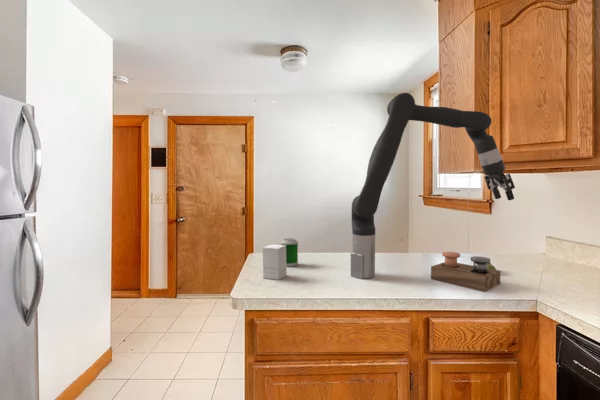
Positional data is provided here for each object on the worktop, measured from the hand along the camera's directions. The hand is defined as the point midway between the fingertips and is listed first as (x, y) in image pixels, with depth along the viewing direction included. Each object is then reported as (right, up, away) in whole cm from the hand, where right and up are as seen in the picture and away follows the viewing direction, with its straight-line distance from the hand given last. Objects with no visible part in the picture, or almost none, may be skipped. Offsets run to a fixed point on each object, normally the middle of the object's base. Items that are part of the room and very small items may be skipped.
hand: (504, 199), depth 131 cm
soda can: (-88, -31, +20) cm, 95 cm away
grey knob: (-16, -28, -10) cm, 33 cm away
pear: (-4, -32, +7) cm, 32 cm away
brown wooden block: (-19, -32, -6) cm, 38 cm away
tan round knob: (-23, -27, -2) cm, 35 cm away
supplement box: (-93, -32, +1) cm, 98 cm away
